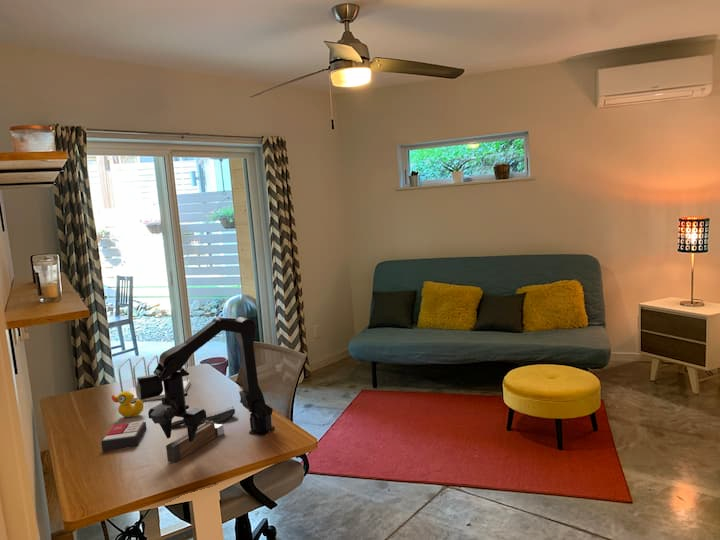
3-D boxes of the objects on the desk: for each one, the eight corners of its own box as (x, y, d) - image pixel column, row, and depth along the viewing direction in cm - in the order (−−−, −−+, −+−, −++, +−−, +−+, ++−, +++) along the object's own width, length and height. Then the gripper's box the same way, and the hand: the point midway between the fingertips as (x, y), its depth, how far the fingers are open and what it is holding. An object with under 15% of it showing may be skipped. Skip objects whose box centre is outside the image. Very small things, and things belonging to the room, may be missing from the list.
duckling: (111, 420, 199) (107, 395, 198) (117, 414, 205) (114, 390, 204) (141, 418, 200) (138, 392, 198) (146, 412, 205) (143, 387, 204)
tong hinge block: (224, 433, 180) (223, 424, 180) (218, 437, 177) (217, 428, 177) (213, 432, 182) (212, 423, 182) (207, 435, 179) (207, 426, 179)
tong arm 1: (211, 436, 178) (209, 420, 177) (171, 461, 161) (169, 444, 161) (208, 435, 179) (206, 420, 178) (167, 461, 162) (165, 444, 161)
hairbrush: (164, 417, 192) (234, 403, 198) (166, 427, 192) (235, 412, 198) (162, 426, 184) (234, 411, 190) (163, 436, 184) (236, 421, 190)
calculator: (145, 419, 189) (135, 434, 174) (147, 431, 189) (137, 447, 175) (113, 423, 187) (100, 439, 172) (114, 435, 188) (101, 452, 173)
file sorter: (190, 384, 237) (187, 350, 235) (183, 397, 220) (178, 361, 218) (132, 390, 234) (128, 356, 232) (120, 404, 217) (115, 367, 215)
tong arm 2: (216, 436, 177) (214, 421, 176) (175, 462, 161) (173, 445, 160) (212, 436, 178) (211, 420, 177) (171, 461, 161) (169, 444, 160)
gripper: (131, 398, 159) (137, 447, 161) (178, 404, 152) (184, 455, 153) (159, 386, 169) (164, 432, 171) (204, 390, 162) (210, 439, 163)
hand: (180, 439), depth 165 cm, fingers open, 9 cm apart
